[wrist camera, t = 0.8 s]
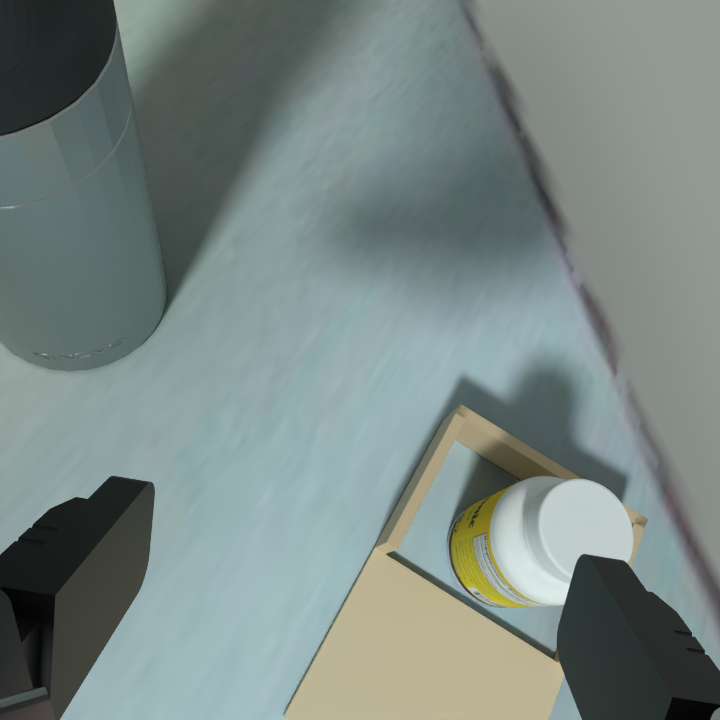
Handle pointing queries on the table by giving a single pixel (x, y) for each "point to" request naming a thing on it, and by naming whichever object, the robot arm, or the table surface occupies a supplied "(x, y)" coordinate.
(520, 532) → the supplement bottle
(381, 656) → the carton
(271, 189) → the table surface
